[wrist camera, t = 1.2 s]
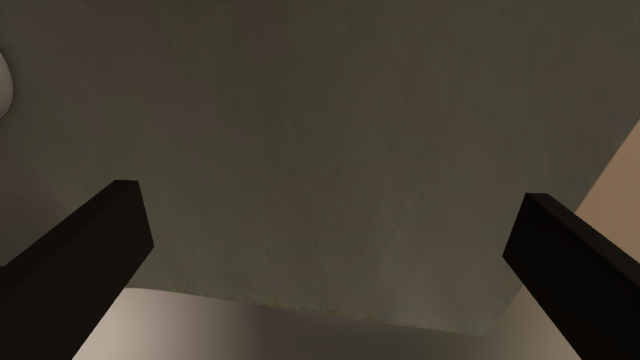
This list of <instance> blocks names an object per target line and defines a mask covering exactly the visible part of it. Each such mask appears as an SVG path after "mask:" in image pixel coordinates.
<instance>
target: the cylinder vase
mask: <svg viewBox="0 0 640 360" xmlns="http://www.w3.org/2000/svg"><path fill="white" fill-rule="evenodd" d="M13 92H14V89H13V80H12V76H11V73H10V70H9V67H8V65H7V63H6V61H5V59H4V57H3V55H2V54H1V52H0V119H1V118H2V117H3V116H4V115H5V114H6V113H7V111H8V110H9V108H10V106H11V103H12V100H13Z"/></svg>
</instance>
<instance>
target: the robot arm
mask: <svg viewBox="0 0 640 360" xmlns="http://www.w3.org/2000/svg"><path fill="white" fill-rule="evenodd" d="M153 248H154V243H153V239H152V235H151V231H150V227H149V223H148V219H147V215H146V211H145V206H144V202H143V198H142V194H141V190H140V186H139V182H138V181H133V180H114V181H113V182H112V183H110V184H109V185H108V186H107V187H105V188H104V189H103V190H101V191H100V192H99V193H98V194H96V195H95V196H94V197H92V198H91V199H90V200H89V201H87V202H86V203H85V204H84V205H82V206H81V207H80V208H78V209H77V210H76V211H75V212H73V213H72V214H71V215H69V216H68V217H67V218H66V219H64V220H63V221H62V222H60V223H59V224H58V225H57V226H55V227H54V228H53V229H52V230H50V231H49V232H48V233H46V234H45V235H44V236H43V237H41V238H40V239H39V240H37V241H36V242H35V243H34V244H32V245H31V246H30V247H28V248H27V249H26V250H25V251H23V252H22V253H21V254H19V255H18V256H17V257H16V258H14V259H13V260H12V261H11V262H9V263H8V264H7V265H5V266H1V267H0V360H72V358H73V357H74V356H75V354H76V353H77V352H78V350H79V349H80V347H81V346H82V345H83V343H84V342H85V341H86V339H87V338H88V337H89V335H90V334H91V332H92V331H93V330H94V328H95V327H96V326H97V324H98V323H99V321H100V320H101V319H102V317H103V316H104V315H105V313H106V312H107V311H108V309H109V308H110V306H111V305H112V304H113V302H114V301H115V299H116V298H117V297H118V296H119V294H120V293H121V291H122V290H123V289H124V287H125V286H126V285H127V283H128V282H129V281H130V279H131V278H132V276H133V275H134V274H135V272H136V271H137V270H138V268H139V267H140V265H141V264H142V263H143V261H144V260H145V259H146V257H147V256H148V255H149V253H150V252H151V250H152V249H153ZM502 257H503V258H504V259H505V261H506V262H507V263H508V265H509V266H510V267H511V268H512V270H513V271H514V272H515V274H516V275H517V276H518V278H519V279H520V280H521V281H522V283H523V284H524V285H525V286H526V288H527V289H528V290H529V292H530V293H531V294H532V296H533V297H534V298H535V300H536V301H537V302H538V304H539V305H540V306H541V307H542V309H543V310H544V311H545V313H546V314H547V315H548V316H549V318H550V319H551V320H552V322H553V323H554V324H555V325H556V327H557V328H558V329H559V331H560V332H561V333H562V335H563V336H564V337H565V338H566V340H567V341H568V342H569V344H570V345H571V346H572V348H573V349H574V350H575V351H576V353H577V354H578V355H579V357H580V358H581V359H582V360H640V264H639V263H638V262H637V261H635V260H634V259H633V258H632V257H630V256H629V255H628V254H626V253H625V252H624V251H623V250H621V249H620V248H619V247H617V246H616V245H615V244H613V243H612V242H611V241H609V240H608V239H607V238H606V237H604V236H603V235H602V234H600V233H599V232H598V231H596V230H595V229H594V228H592V227H591V226H590V225H588V224H587V223H586V222H585V221H583V220H582V219H581V218H579V217H578V216H576V215H575V214H574V213H573V212H571V211H570V210H569V209H567V208H566V207H565V206H564V205H562V204H561V203H560V202H558V201H557V200H556V199H554V198H553V197H552V196H550V195H549V194H545V193H526V194H525V196H524V199H523V202H522V204H521V207H520V210H519V212H518V215H517V218H516V220H515V223H514V226H513V228H512V231H511V234H510V237H509V239H508V242H507V245H506V247H505V250H504V253H503V255H502Z"/></svg>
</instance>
